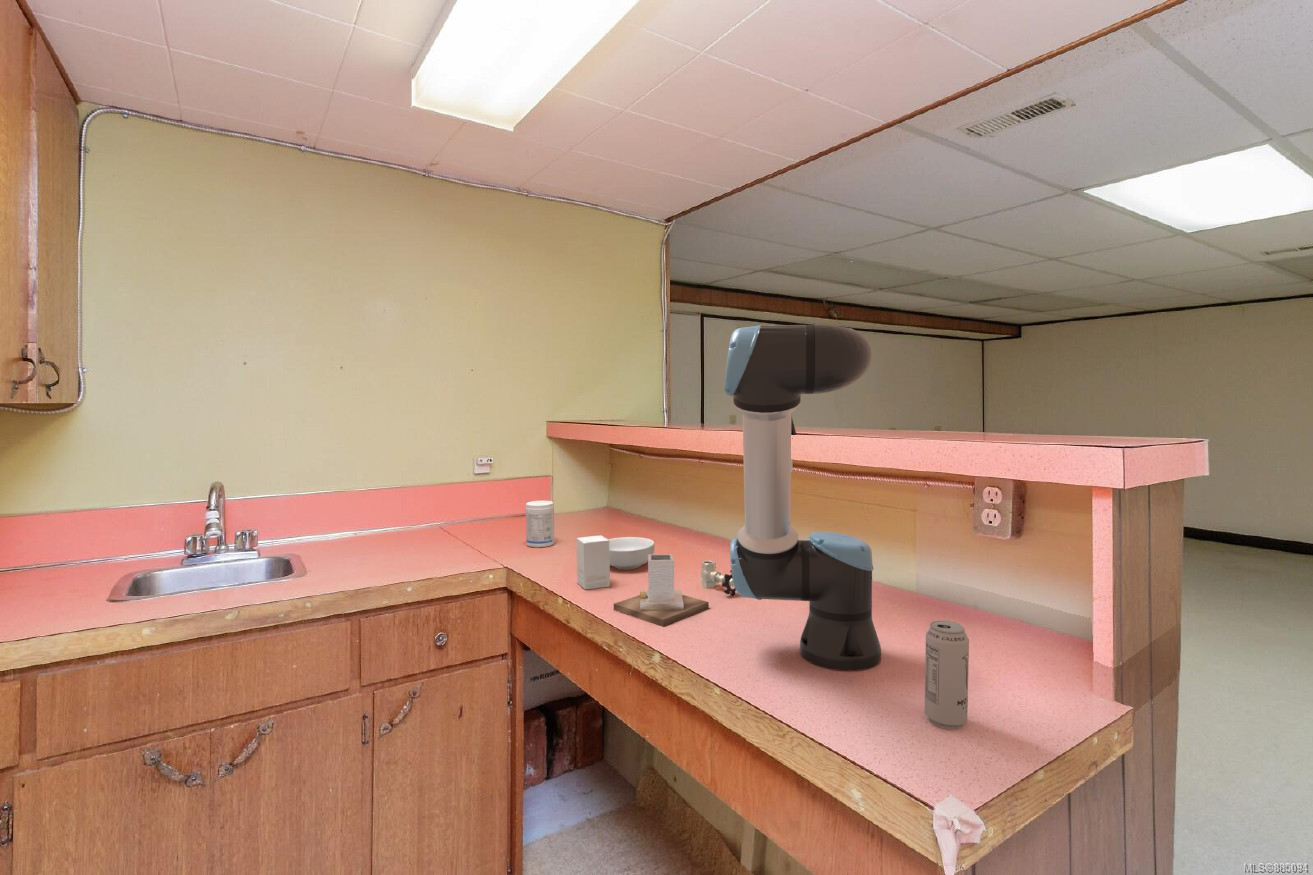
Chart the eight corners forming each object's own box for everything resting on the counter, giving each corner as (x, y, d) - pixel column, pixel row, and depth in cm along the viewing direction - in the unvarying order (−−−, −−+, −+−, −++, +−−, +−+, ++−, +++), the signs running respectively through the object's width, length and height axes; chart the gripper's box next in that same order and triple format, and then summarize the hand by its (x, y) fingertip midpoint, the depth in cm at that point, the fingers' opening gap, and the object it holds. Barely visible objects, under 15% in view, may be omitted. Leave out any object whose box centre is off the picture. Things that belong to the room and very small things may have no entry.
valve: (694, 587, 168) (724, 598, 158) (694, 562, 167) (724, 572, 158) (713, 582, 172) (743, 593, 162) (713, 558, 171) (743, 568, 161)
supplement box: (610, 587, 168) (610, 540, 168) (583, 590, 166) (583, 542, 165) (602, 579, 175) (602, 534, 174) (576, 582, 172) (575, 537, 172)
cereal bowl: (602, 558, 198) (602, 536, 197) (655, 558, 197) (655, 536, 197) (595, 574, 181) (594, 549, 180) (653, 574, 180) (653, 549, 180)
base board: (708, 608, 151) (708, 577, 150) (662, 626, 139) (662, 592, 139) (660, 594, 162) (659, 565, 161) (613, 609, 150) (613, 578, 150)
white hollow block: (680, 595, 155) (680, 551, 155) (683, 609, 145) (683, 562, 145) (640, 596, 155) (639, 552, 154) (640, 610, 145) (639, 563, 144)
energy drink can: (969, 734, 94) (971, 635, 93) (924, 727, 96) (926, 630, 95) (965, 715, 99) (967, 622, 98) (923, 708, 101) (925, 617, 100)
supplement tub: (531, 541, 222) (530, 500, 222) (557, 541, 222) (556, 500, 221) (522, 548, 213) (521, 505, 212) (550, 548, 212) (549, 505, 211)
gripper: (786, 389, 168) (786, 469, 169) (729, 389, 150) (729, 478, 151) (811, 389, 162) (811, 471, 164) (755, 389, 144) (755, 481, 146)
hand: (772, 474), depth 157 cm, fingers open, 13 cm apart
